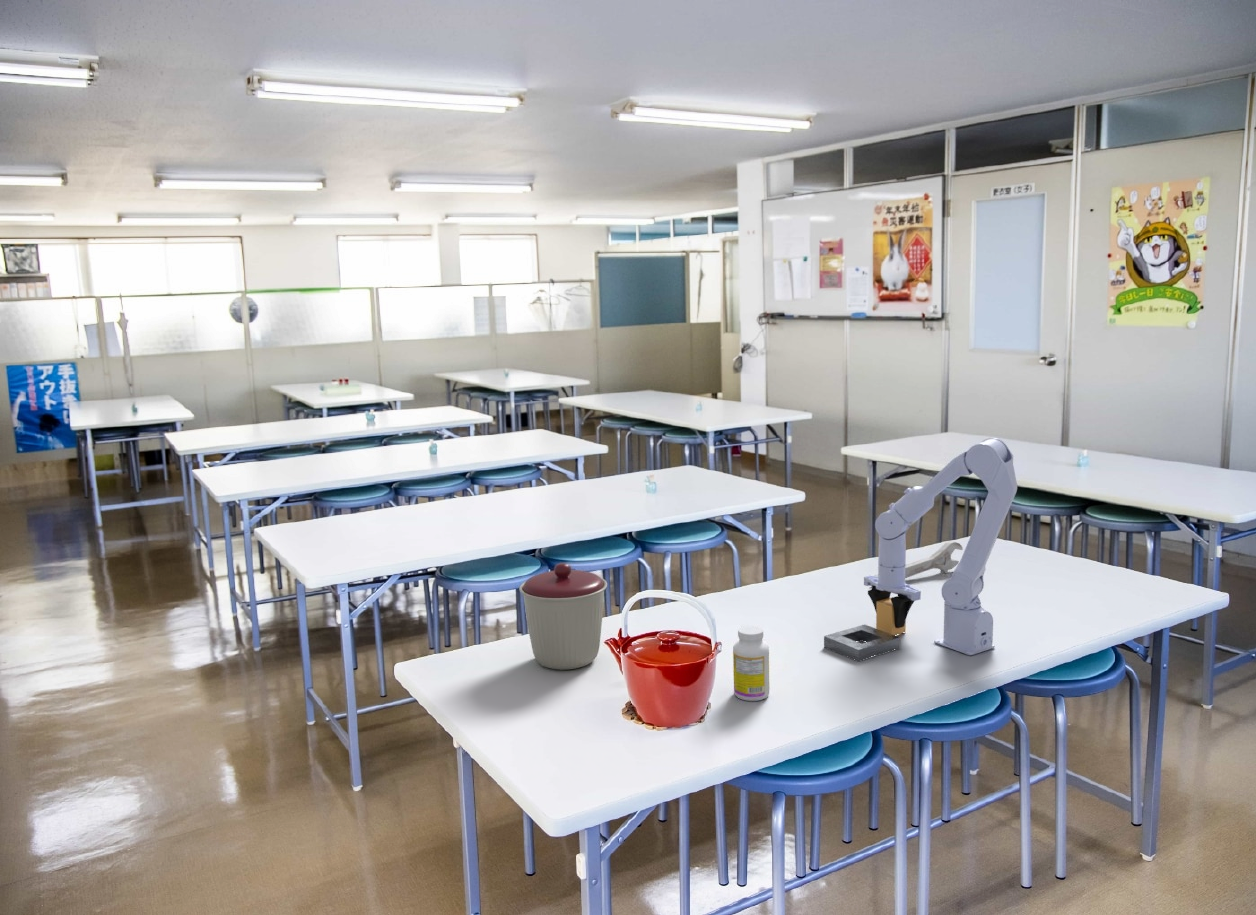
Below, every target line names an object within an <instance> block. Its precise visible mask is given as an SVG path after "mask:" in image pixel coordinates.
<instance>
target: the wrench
mask: <svg viewBox="0 0 1256 915" xmlns="http://www.w3.org/2000/svg"><path fill="white" fill-rule="evenodd" d="M963 549H964V548H963V546H962V545H961V544H960V543H959V542H957V541H953V540H950V541H947V542H945V543H944V544H943V545H941V547H940V548H939V549H938V550H937V551H935V552H934V553H933V554H931V555H930V556H929V557H926V558H923V559H920V560H916V561H915V562H914V561H913V562H911V563H908V564H905V565H906V566H905V579H908V578H911V577H914V576H915V575H918V574H921V573H924V572H926V571H930V570H932V569H937V570H939V572H940V573H939V574H948V571H950V570H952V569H953V568H956V567H957V565H958V564H959V562H960V560H957V559H952V558H951V557H952V554H953V553H954V551H955V550H958V551H963ZM874 576H875V577H878V573H877V574H875V575H874Z"/></svg>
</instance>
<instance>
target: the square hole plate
mask: <svg viewBox="0 0 1256 915" xmlns="http://www.w3.org/2000/svg"><path fill="white" fill-rule="evenodd" d="M860 640H863V641H866V642H867V643H866V642H863V641H862V642H863V643H862V642H861V641H860ZM856 641H859V642H856ZM860 642H861V643H860ZM825 647H826V648H825ZM823 648H825V649H827V648H828V649H827V650H829V649H830V651H832V652H834V651H835V653H837V654H839V655H842V656H844V655H845V656H844V657H846V656H848V657H847V658H849V657H850V658H849V659H851V658H852V659H851V660H854V659H855V660H854V661H856V660H857V662H858V661H859V662H861V661H860V660H862V661H864V660H863V659H865V660H867V659H866V658H868V659H870V658H869V657H871V656H874V655H878V656H880V655H879V654H881V655H884V654H883V653H885V652H888V651H891V652H893V651H892V650H894V649H897V650H899V649H898V648H900V649H901V637H900V636H899V635H898V636H895V635H892V634H889V633H887V632H884V631H881V630H878V629H876V627H873V626H870V625H868V624H861V625H858V626H855V627H852V628H848V629H844V630H841V631H837V632H834V633H830V634H827V635H824V636H823ZM894 651H895V650H894ZM888 653H889V652H888ZM885 654H886V653H885Z"/></svg>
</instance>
